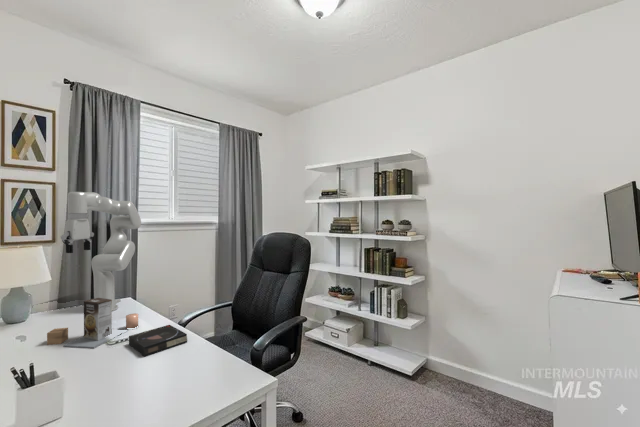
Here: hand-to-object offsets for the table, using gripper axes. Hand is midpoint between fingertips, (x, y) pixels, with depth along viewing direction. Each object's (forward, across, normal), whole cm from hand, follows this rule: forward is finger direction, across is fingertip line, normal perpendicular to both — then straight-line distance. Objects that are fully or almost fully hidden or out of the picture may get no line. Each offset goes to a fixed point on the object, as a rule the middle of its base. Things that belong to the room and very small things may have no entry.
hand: (78, 251), depth 148 cm
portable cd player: (+36, +18, +54) cm, 67 cm away
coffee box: (+35, +16, +24) cm, 45 cm away
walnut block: (+36, +20, +10) cm, 42 cm away
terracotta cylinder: (+36, +3, +30) cm, 47 cm away
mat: (+36, +16, +24) cm, 46 cm away
